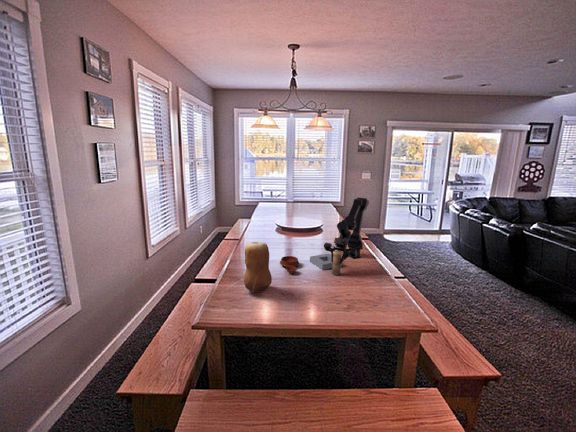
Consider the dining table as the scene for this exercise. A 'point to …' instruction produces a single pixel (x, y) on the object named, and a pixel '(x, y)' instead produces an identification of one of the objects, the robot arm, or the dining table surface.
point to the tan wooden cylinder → (336, 262)
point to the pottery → (290, 263)
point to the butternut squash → (257, 267)
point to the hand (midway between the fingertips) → (335, 262)
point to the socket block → (322, 261)
